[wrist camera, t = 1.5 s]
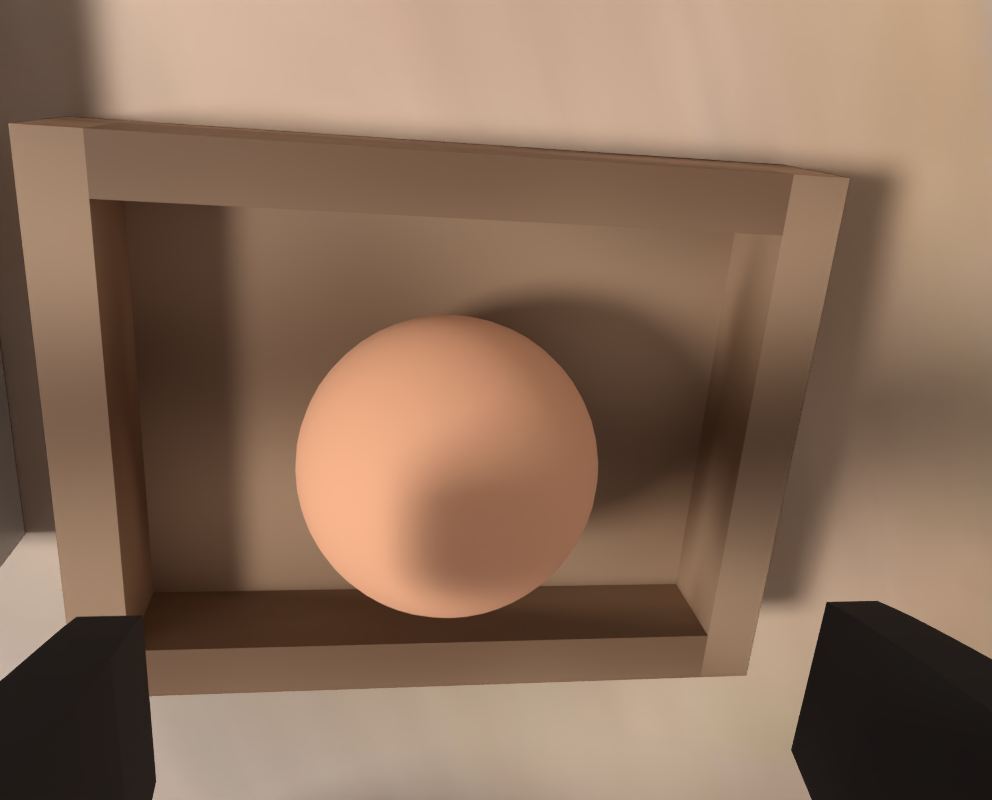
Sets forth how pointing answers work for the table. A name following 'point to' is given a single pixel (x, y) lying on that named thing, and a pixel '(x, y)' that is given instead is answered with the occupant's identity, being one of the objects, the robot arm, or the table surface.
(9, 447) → the tray
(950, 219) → the table surface
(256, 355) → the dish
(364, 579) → the brown egg
